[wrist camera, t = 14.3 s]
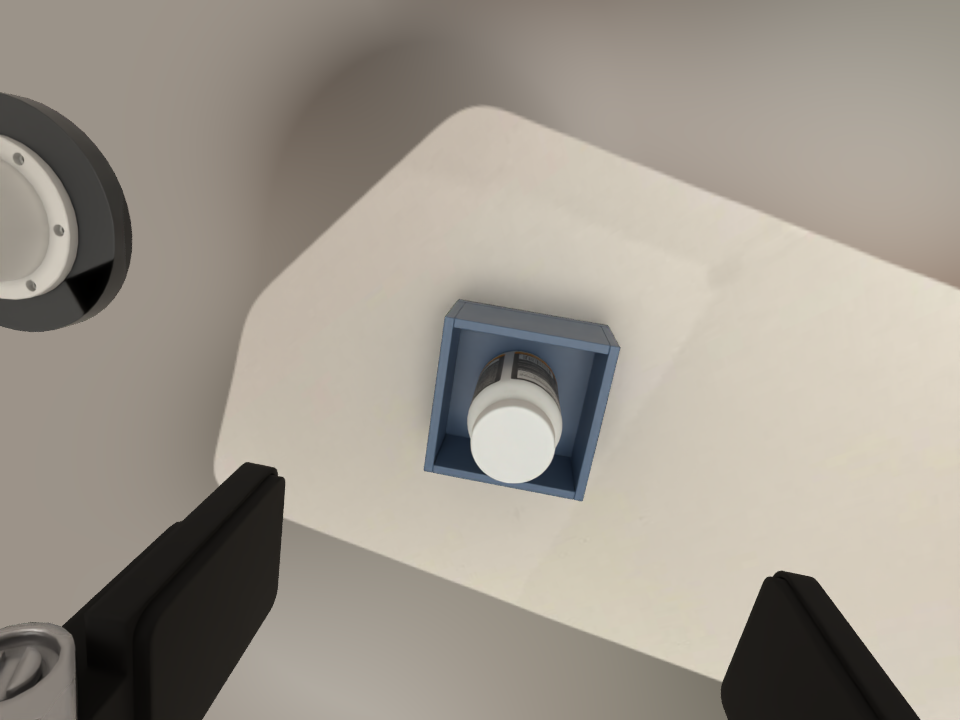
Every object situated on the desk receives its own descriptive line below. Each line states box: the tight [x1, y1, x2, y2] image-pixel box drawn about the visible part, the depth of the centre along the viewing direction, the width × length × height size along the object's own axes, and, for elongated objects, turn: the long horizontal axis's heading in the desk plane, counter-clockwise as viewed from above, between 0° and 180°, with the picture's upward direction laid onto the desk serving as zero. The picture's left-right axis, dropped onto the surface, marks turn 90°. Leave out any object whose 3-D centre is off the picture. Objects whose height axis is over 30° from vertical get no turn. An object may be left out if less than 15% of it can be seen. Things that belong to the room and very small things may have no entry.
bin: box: [424, 299, 620, 501], centre depth 37 cm, size 11×11×6 cm
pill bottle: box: [467, 351, 562, 483], centre depth 34 cm, size 6×6×10 cm
